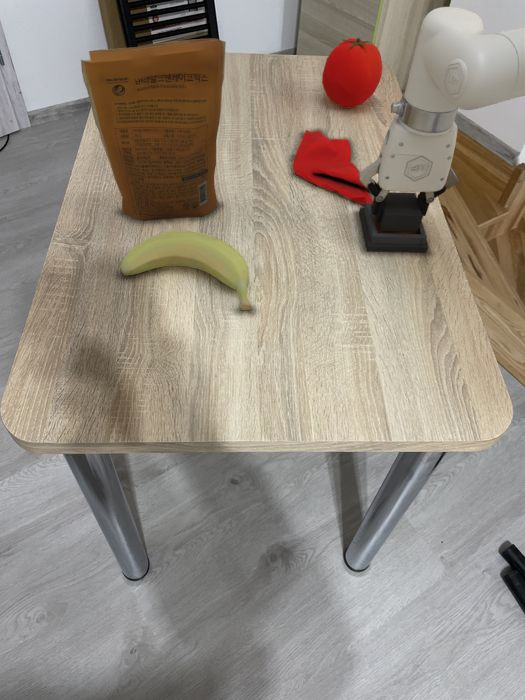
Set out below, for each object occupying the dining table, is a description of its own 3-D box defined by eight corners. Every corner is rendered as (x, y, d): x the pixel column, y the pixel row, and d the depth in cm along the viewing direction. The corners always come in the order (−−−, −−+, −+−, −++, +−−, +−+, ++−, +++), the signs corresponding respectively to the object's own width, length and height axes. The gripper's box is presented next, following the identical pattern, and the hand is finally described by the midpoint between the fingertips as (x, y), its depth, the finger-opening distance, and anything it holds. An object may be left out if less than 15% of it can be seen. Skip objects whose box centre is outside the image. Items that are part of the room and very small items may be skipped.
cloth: (279, 133, 109) (280, 123, 107) (344, 130, 111) (346, 119, 109) (309, 214, 93) (311, 204, 91) (384, 208, 95) (387, 198, 94)
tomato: (315, 90, 121) (323, 26, 110) (368, 90, 122) (381, 27, 111) (323, 118, 114) (333, 52, 103) (380, 117, 115) (395, 52, 104)
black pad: (410, 208, 91) (415, 192, 89) (417, 231, 87) (422, 215, 85) (375, 207, 91) (379, 191, 88) (380, 230, 87) (385, 214, 85)
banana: (176, 199, 82) (275, 273, 77) (182, 221, 88) (275, 292, 82) (110, 258, 79) (209, 340, 73) (121, 277, 84) (214, 355, 79)
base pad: (415, 214, 95) (419, 201, 93) (426, 252, 89) (431, 240, 86) (358, 212, 94) (361, 200, 92) (366, 251, 88) (369, 238, 86)
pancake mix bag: (229, 221, 91) (229, 46, 69) (114, 229, 89) (75, 50, 67) (224, 197, 95) (222, 24, 73) (114, 204, 93) (78, 27, 71)
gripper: (370, 124, 72) (347, 231, 86) (496, 128, 73) (453, 233, 87) (362, 96, 77) (342, 202, 91) (481, 101, 77) (443, 205, 92)
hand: (397, 216), depth 89 cm, fingers closed on black pad, 5 cm apart
